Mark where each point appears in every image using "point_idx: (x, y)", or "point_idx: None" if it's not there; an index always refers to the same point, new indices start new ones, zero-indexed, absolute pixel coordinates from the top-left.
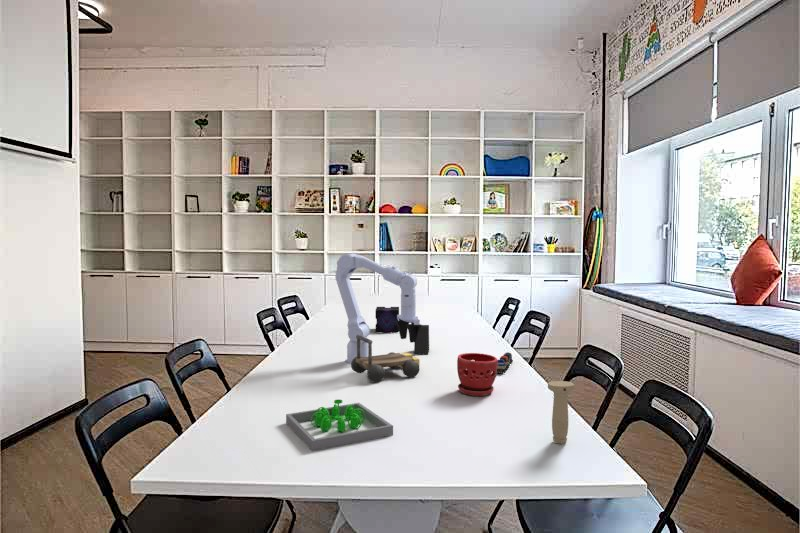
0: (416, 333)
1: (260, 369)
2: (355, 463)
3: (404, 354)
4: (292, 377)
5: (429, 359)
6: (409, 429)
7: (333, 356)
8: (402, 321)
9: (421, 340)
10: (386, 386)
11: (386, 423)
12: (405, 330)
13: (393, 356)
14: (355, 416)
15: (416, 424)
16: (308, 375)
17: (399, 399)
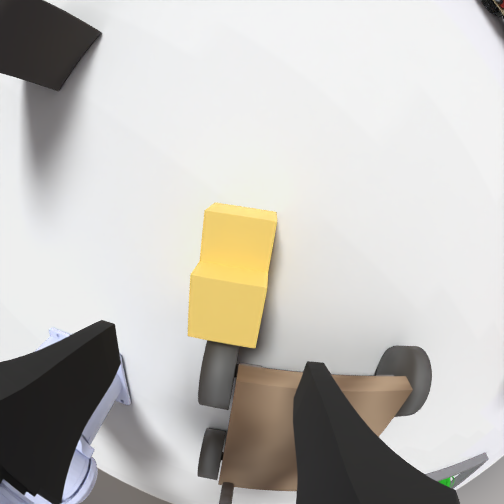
0: (355, 437)
1: (106, 472)
2: (474, 472)
3: (223, 322)
4: (180, 487)
5: (179, 64)
6: (496, 439)
7: (19, 354)
8: (28, 487)
9: (26, 38)
10: (387, 436)
11: (481, 463)
12: (65, 381)
13: (290, 429)
14: (449, 486)
15: (500, 431)
16: (179, 477)
17: (453, 433)
